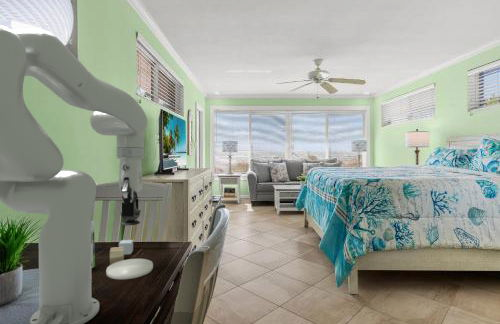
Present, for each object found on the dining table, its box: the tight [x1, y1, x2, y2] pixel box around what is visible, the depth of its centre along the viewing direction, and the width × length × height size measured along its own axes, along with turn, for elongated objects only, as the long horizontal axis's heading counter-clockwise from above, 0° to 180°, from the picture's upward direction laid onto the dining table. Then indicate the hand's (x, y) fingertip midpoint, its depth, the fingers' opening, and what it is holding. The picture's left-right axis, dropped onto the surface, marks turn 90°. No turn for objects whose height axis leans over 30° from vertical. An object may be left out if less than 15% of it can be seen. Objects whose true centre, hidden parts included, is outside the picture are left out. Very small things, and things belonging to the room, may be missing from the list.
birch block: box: [109, 246, 125, 265], centre depth 95 cm, size 4×4×4 cm
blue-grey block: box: [118, 239, 134, 256], centre depth 103 cm, size 4×4×4 cm
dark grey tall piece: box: [119, 191, 142, 226], centre depth 87 cm, size 6×6×12 cm
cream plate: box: [105, 258, 154, 280], centre depth 88 cm, size 13×13×1 cm
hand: (130, 213), depth 87 cm, fingers closed on dark grey tall piece, 5 cm apart
